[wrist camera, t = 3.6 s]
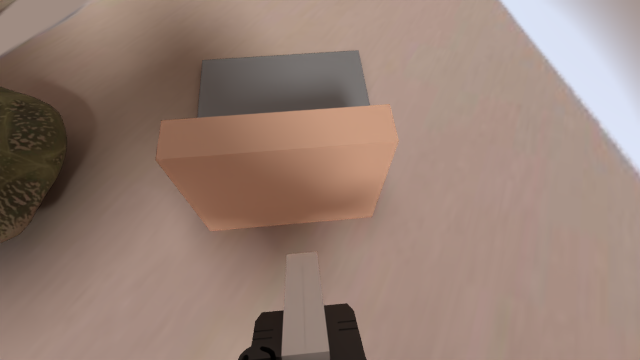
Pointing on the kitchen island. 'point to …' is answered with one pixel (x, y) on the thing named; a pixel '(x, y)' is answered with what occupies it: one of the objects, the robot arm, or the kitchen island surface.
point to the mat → (281, 84)
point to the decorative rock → (27, 157)
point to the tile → (280, 164)
